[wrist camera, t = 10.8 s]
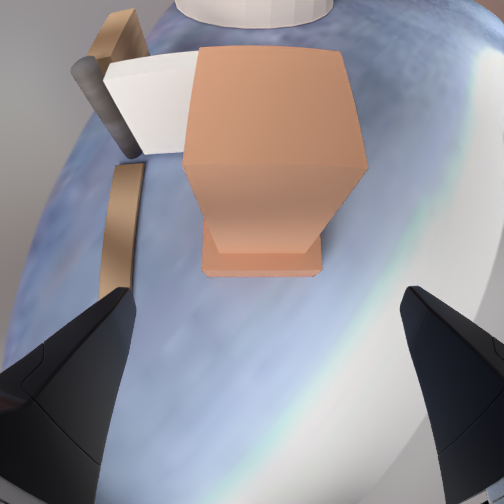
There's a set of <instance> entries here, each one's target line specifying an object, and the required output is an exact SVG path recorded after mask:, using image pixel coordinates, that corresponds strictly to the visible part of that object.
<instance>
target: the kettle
mask: <svg viewBox="0 0 504 504" xmlns="http://www.w3.org/2000/svg"><path fill="white" fill-rule="evenodd" d="M175 3H176V6H177V9H179V10H180V11H181V12H182V13H183V14H184V15H186V16H188V17H190V18H193V19H195V20H197V21H200V22H202V23H207V24H212V25H216V26H221V27H230V28H241V29H274V28H284V27H293V26H297V25H302V24H306V23H310V22H313V21H315V20H317V19H319V18H321V17H323V16H326V15H327V14H328V12H329V11H330V10H331V9H332V8H333V0H175Z"/></svg>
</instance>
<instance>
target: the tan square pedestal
mask: <svg viewBox="0 0 504 504" xmlns="http://www.w3.org/2000/svg"><path fill="white" fill-rule="evenodd" d="M182 166H183V168H184V171H185V173H186V176H187V178H188V181H189V183H190V185H191V188H192V190H193V193H194V195H195V197H196V200H197V202H198V205H199V207H200V209H201V212H202V214H203V216H204V228H203V253H202V271H203V272H204V273H205V274H206V275H207V277H314V276H315V275H317V274H318V273H319V272H321V271H322V254H321V236H320V233H321V232H322V231H323V229H324V228H325V227H326V225H327V224H328V223H329V221H330V220H331V219H332V217H333V216H334V215H335V213H336V212H337V211H338V209H339V208H340V207H341V205H342V204H343V203H344V201H345V200H346V199H347V197H348V196H349V194H350V193H351V192H352V190H353V189H354V188H355V186H356V185H357V183H358V182H359V181H360V179H361V178H362V177H363V175H364V174H365V172H366V171H367V170H368V164H367V158H366V153H365V147H364V142H363V138H362V133H361V128H360V124H359V119H358V115H357V110H356V106H355V102H354V98H353V94H352V90H351V86H350V83H349V79H348V75H347V72H346V68H345V65H344V61H343V58H342V55H341V52H339V51H331V50H323V49H313V48H301V47H286V46H214V47H199V52H198V58H197V63H196V69H195V75H194V81H193V87H192V93H191V100H190V107H189V114H188V121H187V129H186V137H185V145H184V153H183V162H182Z"/></svg>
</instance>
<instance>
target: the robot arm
mask: <svg viewBox="0 0 504 504" xmlns="http://www.w3.org/2000/svg"><path fill="white" fill-rule="evenodd" d="M400 314H401V318H402V322H403V326H404V330H405V335H406V339H407V344H408V347H409V351H410V354H411V358H412V361H413V364H414V367H415V370H416V373H417V377H418V380H419V383H420V387H421V390H422V394H423V397H424V401H425V404H426V408H427V412H428V416H429V420H430V423H431V428H432V432H433V436H434V440H435V445H436V450H437V454H438V460H439V465H440V470H441V476H442V481H443V487H444V493H445V500H446V504H460V503H462V502H464V501H466V500H469V499H471V498H472V497H474V496H476V495H478V494H480V493H482V492H484V491H486V495H487V498H488V500H487V501H485V502H483V503H481V504H504V344H503V343H501V342H500V341H499V340H497V339H496V338H494V337H492V336H491V335H490V334H489V333H487V332H486V331H485V330H483V329H482V328H480V327H479V326H477V325H476V324H475V323H473V322H472V321H470V320H469V319H467V318H466V317H465V316H463V315H462V314H460V313H459V312H457V311H456V310H454V309H453V308H451V307H450V306H448V305H447V304H445V303H444V302H442V301H441V300H439V299H438V298H436V297H435V296H433V295H432V294H430V293H429V292H427V291H426V290H424V289H423V288H421V287H419V286H409V287H407V288H406V290H405V293H404V296H403V299H402V302H401V304H400ZM135 317H136V305H135V302H134V298H133V295H132V291H131V289H130V288H129V287H117V288H115V289H114V290H113V291H111V292H110V293H109V294H107V295H106V296H104V297H103V298H102V299H100V300H99V301H98V302H96V303H95V304H93V305H92V306H91V307H89V308H88V309H87V310H85V311H84V312H83V313H81V314H80V315H79V316H77V317H76V318H75V319H73V320H72V321H71V322H69V323H68V324H67V325H65V326H64V327H63V328H61V329H60V330H59V331H57V332H56V333H55V334H53V335H52V336H51V337H50V338H48V339H47V340H46V341H44V343H42V344H40V345H39V346H38V347H37V348H35V349H34V350H33V351H31V352H30V353H29V354H27V355H26V356H25V357H23V358H22V359H21V360H19V361H18V362H16V363H15V364H13V365H12V366H11V367H9V368H8V369H6V370H5V371H3V372H2V373H0V504H94V502H95V496H96V490H97V484H98V479H99V473H100V468H101V467H100V466H101V462H102V457H103V452H104V448H105V443H106V438H107V434H108V430H109V425H110V421H111V417H112V413H113V409H114V405H115V401H116V397H117V393H118V390H119V386H120V382H121V379H122V375H123V372H124V368H125V365H126V361H127V357H128V354H129V349H130V344H131V338H132V332H133V327H134V322H135Z"/></svg>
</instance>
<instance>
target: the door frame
mask: <svg viewBox="0 0 504 504" xmlns="http://www.w3.org/2000/svg"><path fill="white" fill-rule="evenodd" d="M148 56H150V53H149V50H148V47H147V44H146V41H145V38H144V35H143V32H142V29H141V26H140V23H139V20H138V17H137V14H136V10H135V8H132V9H128V10H123V11H119V12H115V13H111V14H110V15H109V16H108V18H107V20H106V21H105V23H104V25H103V26H102V28H101V30H100V32H99V33H98V35H97V37H96V39H95V41H94V42H93V44H92V46H91V48H90V50H89V52H88V54H87V56H86V57H83V58H81V59H80V60H78V61H77V62H76V63H75V64H74V65H73V66H72V68H71V71H70V72H71V74H72V76H73V77H74V79H75V81H76V82H77V84H78V85H79V87H80V88H81V90H82V92H83V93H84V95H85V96H86V98H87V99H88V101H89V102H90V104H91V105H92V107H93V109H94V110H95V112H96V113H97V115H98V116H99V118H100V119H101V121H102V122H103V124H104V125H105V127H106V128H107V130H108V131H109V133H110V134H111V136H112V137H113V139H114V140H115V141H116V143H117V144H118V146H119V147H120V149H121V150H122V152H123V153H124V155H125V156H126V157H127V158H129V159H134V158H137V157H138V156H139V155H140V154H141V153H142V149H141V148H140V146H139V144H138V142H137V141H136V139H135V137H134V135H133V134H132V132H131V130H130V128H129V127H128V125H127V123H126V121H125V120H124V118H123V116H122V114H121V113H120V111H119V109H118V107H117V105H116V104H115V102H114V100H113V98H112V96H111V95H110V93H109V91H108V89H107V87H106V85H105V84H104V82H103V79H104V77H105V74H106V72H107V69H108V67H109V65H110V63H115V62H120V61H125V60H130V59H136V58H142V57H148ZM144 167H145V165H144V164H143V163H137V164H126V165H115V170H114V175H113V180H112V186H111V191H110V197H109V204H108V210H107V217H106V224H105V232H104V240H103V249H102V259H101V271H100V285H99V300H100V299H102V298H103V297H104V296H106V295H107V294H109V293H110V292H111V291H113V290H114V289H115V288H117V287H129V288H130V289H131V291H132V274H133V260H134V248H135V237H136V227H137V218H138V209H139V201H140V194H141V187H142V180H143V173H144Z"/></svg>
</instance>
